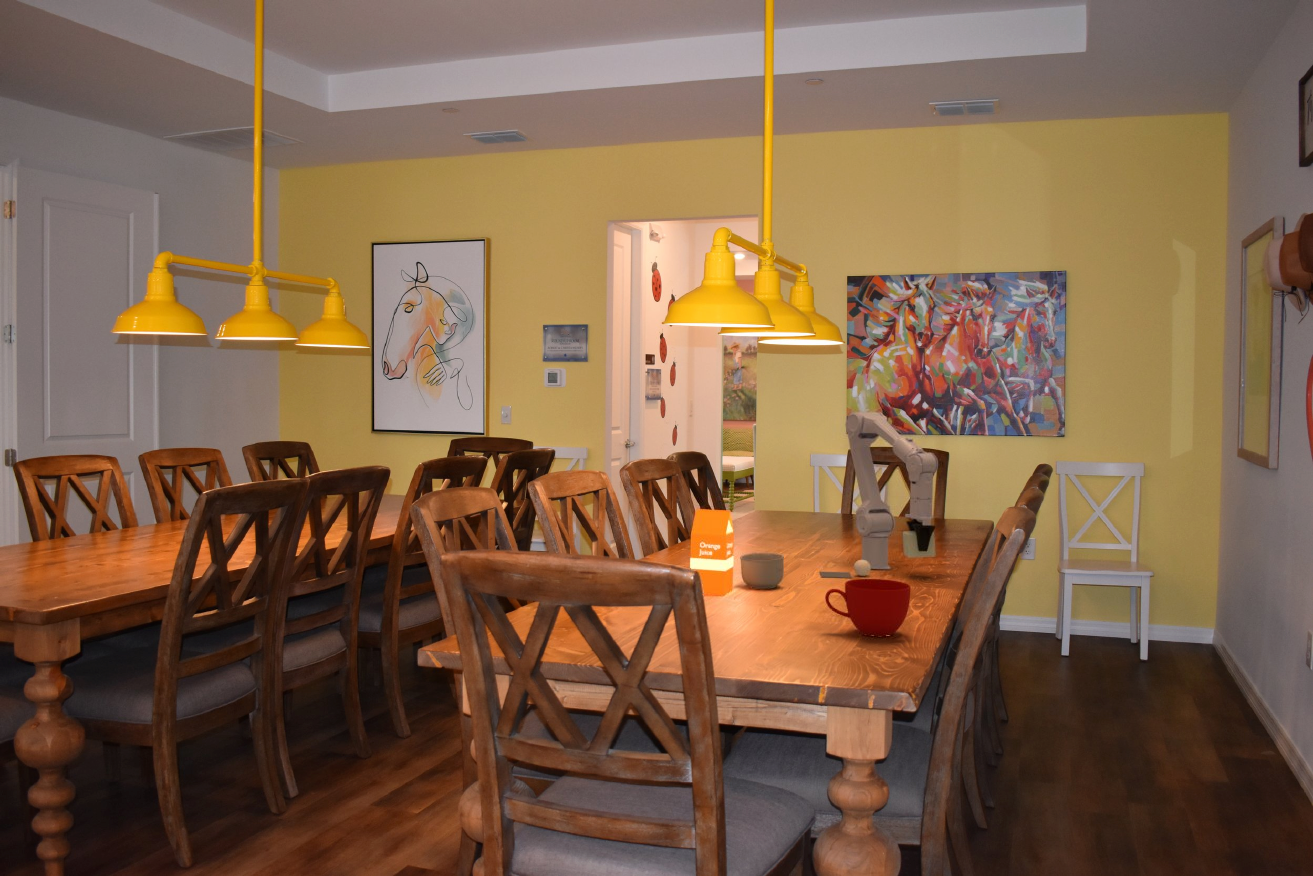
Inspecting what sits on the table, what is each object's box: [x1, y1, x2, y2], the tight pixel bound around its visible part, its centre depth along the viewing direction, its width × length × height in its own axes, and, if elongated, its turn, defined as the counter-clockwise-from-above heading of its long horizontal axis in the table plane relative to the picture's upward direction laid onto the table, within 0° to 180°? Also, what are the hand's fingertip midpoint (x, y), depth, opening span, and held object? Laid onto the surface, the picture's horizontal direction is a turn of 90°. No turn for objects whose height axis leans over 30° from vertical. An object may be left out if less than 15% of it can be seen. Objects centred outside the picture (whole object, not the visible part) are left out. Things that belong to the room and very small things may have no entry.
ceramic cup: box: [824, 578, 912, 636], centre depth 208 cm, size 13×17×10 cm
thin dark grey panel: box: [819, 571, 853, 579], centre depth 276 cm, size 8×8×1 cm
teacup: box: [739, 552, 785, 590], centre depth 259 cm, size 14×11×8 cm
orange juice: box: [689, 508, 735, 597], centre depth 250 cm, size 8×9×20 cm
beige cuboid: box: [902, 530, 936, 559], centre depth 273 cm, size 7×6×6 cm
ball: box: [853, 559, 872, 577], centre depth 275 cm, size 4×4×4 cm
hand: (920, 549), depth 274 cm, fingers closed on beige cuboid, 6 cm apart
